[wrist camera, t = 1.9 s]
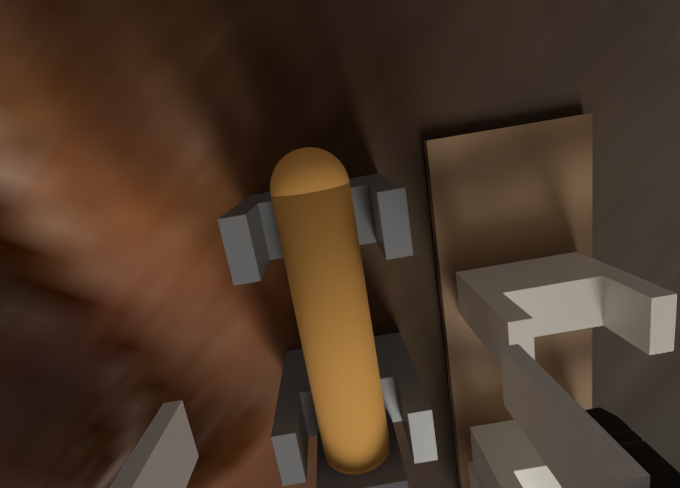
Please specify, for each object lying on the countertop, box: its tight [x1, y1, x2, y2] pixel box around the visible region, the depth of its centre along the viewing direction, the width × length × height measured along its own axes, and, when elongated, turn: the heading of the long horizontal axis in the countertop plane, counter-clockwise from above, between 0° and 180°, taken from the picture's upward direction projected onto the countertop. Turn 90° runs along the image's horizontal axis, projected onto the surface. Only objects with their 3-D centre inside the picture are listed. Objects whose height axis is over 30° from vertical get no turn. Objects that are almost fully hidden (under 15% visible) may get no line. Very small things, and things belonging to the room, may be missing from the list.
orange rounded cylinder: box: [270, 147, 408, 488], centre depth 19 cm, size 20×4×4 cm, turn 9°
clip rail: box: [423, 113, 592, 488], centre depth 27 cm, size 30×10×1 cm, turn 9°
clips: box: [456, 252, 677, 488], centre depth 25 cm, size 22×9×7 cm, turn 9°
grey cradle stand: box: [217, 174, 438, 486], centre depth 22 cm, size 14×8×8 cm, turn 9°
